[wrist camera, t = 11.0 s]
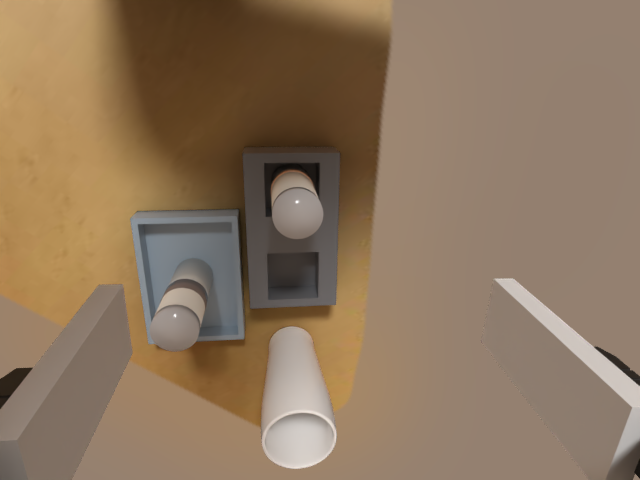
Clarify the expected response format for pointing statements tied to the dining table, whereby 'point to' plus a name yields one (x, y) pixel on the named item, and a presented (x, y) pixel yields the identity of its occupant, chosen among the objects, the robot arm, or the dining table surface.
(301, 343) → the drinking glass
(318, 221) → the fuse
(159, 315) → the cylinder
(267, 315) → the dining table surface
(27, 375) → the robot arm
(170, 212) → the parts tray
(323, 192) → the fuse block
